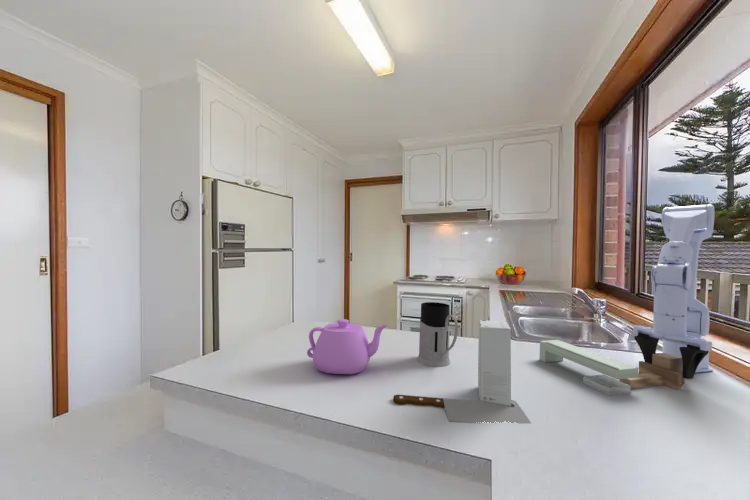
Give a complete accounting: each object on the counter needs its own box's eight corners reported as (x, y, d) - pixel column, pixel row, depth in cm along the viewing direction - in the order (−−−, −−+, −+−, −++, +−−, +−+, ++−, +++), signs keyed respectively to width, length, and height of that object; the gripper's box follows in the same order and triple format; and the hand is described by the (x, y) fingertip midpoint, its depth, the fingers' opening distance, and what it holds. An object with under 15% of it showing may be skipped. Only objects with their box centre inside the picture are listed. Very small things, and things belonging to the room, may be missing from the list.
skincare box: (511, 408, 58) (513, 329, 58) (477, 402, 59) (479, 326, 59) (506, 389, 66) (508, 320, 66) (476, 385, 67) (478, 317, 67)
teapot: (297, 376, 69) (299, 324, 69) (314, 356, 83) (315, 312, 83) (385, 382, 68) (387, 329, 68) (388, 360, 81) (389, 316, 81)
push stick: (656, 373, 77) (656, 349, 77) (696, 387, 70) (697, 361, 70) (607, 378, 73) (608, 353, 73) (644, 394, 65) (645, 365, 65)
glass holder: (438, 353, 88) (440, 301, 88) (470, 372, 74) (472, 311, 74) (411, 356, 85) (413, 302, 85) (439, 377, 71) (441, 312, 71)
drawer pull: (557, 358, 87) (557, 338, 87) (637, 392, 66) (638, 366, 66) (539, 359, 85) (540, 339, 85) (616, 394, 65) (617, 368, 65)
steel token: (603, 383, 72) (603, 374, 72) (630, 394, 66) (630, 385, 66) (582, 385, 70) (583, 376, 70) (609, 397, 64) (609, 388, 64)
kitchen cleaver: (391, 417, 53) (394, 388, 62) (391, 423, 53) (393, 393, 63) (540, 431, 50) (518, 399, 60) (539, 438, 50) (517, 404, 60)
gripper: (625, 308, 79) (623, 361, 79) (696, 322, 65) (694, 386, 65) (645, 308, 81) (643, 360, 81) (719, 321, 67) (717, 383, 67)
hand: (668, 371), depth 73 cm, fingers open, 7 cm apart
